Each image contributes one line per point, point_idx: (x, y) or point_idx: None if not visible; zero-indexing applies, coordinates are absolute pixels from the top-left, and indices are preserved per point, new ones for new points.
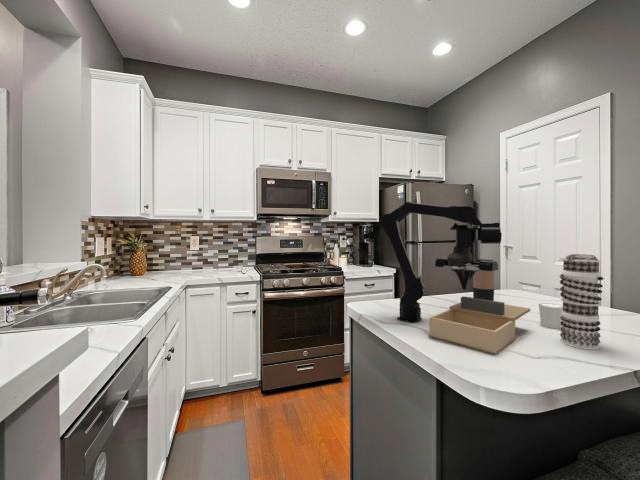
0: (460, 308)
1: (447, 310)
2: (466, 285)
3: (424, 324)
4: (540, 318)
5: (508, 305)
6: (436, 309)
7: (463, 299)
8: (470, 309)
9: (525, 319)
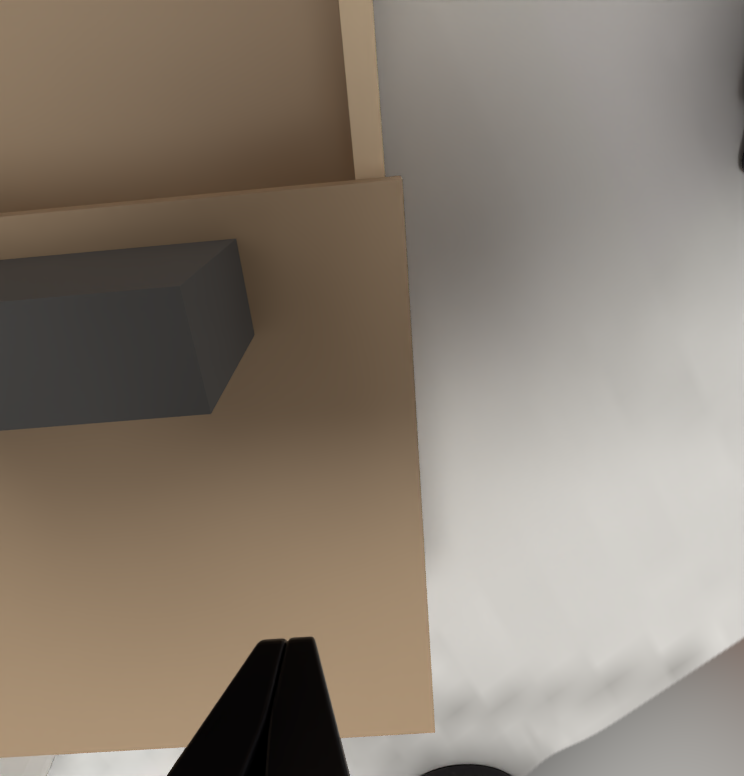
0: (218, 206)
1: (373, 51)
2: (196, 736)
3: (643, 9)
4: (18, 767)
5: (41, 741)
6: (737, 591)
7: (135, 283)
8: (80, 253)
9: (164, 761)
